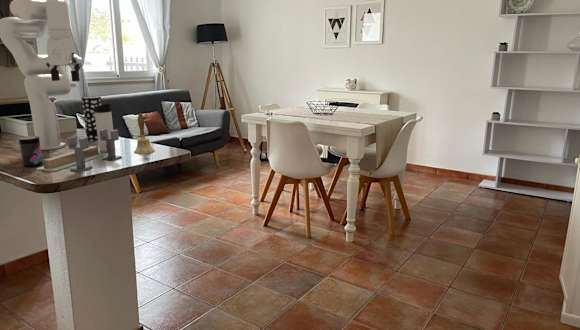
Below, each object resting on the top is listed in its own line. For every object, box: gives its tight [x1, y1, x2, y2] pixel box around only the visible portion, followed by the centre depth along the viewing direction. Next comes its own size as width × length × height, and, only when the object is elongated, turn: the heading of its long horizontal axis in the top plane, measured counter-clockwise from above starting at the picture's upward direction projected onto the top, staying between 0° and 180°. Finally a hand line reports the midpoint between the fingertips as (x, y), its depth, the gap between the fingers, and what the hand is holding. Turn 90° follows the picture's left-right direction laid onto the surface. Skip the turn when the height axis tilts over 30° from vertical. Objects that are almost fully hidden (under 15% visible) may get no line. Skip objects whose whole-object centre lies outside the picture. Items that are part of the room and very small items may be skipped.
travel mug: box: [94, 103, 116, 154], centre depth 181 cm, size 6×7×20 cm
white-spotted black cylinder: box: [81, 96, 103, 142], centre depth 207 cm, size 8×8×20 cm
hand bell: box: [133, 113, 155, 155], centre depth 181 cm, size 8×8×16 cm
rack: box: [66, 129, 123, 173], centre depth 161 cm, size 6×21×11 cm, turn 162°
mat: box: [36, 152, 107, 172], centre depth 166 cm, size 8×26×1 cm, turn 162°
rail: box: [42, 146, 100, 169], centre depth 166 cm, size 3×24×3 cm, turn 163°
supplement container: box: [17, 135, 44, 168], centre depth 161 cm, size 7×7×10 cm
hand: (65, 80), depth 169 cm, fingers open, 9 cm apart
